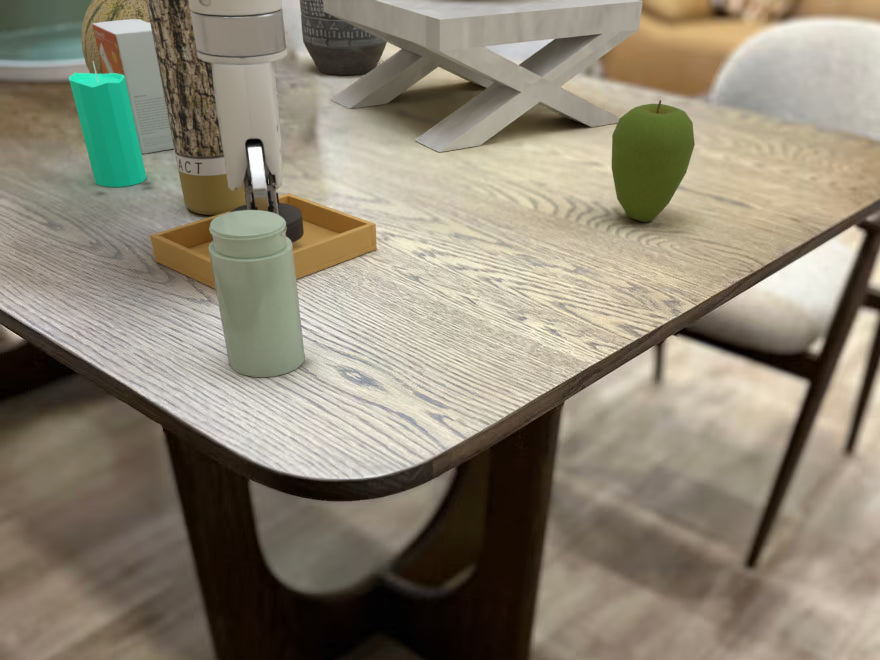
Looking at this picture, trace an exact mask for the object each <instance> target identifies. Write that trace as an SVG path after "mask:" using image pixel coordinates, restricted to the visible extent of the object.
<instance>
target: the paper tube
mask: <svg viewBox="0 0 880 660" xmlns="http://www.w3.org/2000/svg"><path fill="white" fill-rule="evenodd" d="M146 3H147V8H148V13H149V19H150V24H151V29H152V34H153V40H154V45H155V50H156V56H157V61H158V66H159V71H160V77H161V82H162V87H163V93H164V98H165V103H166V109H167V114H168V119H169V124H170V130H171V135H172V140H173V146H174V149H173V150H174V155H175V161H176V166H177V170H178V177H179V181H180V186H181V191H182V198H183V202H184V204H185V206H186V207H187V209H188V210H190V211H191V212H193V213H195V214H198V215H205V216H215V215H218V214H222V213H225V212H228V211H232V210H233V209H235V208H238V207H240V206H244V205H246V198H245V191H244V188H245V187H244V182H243V186H242V188H236V192H233V191H232V190H230V189H229V187H228V181H227V174H226V167H225V160H224V154H223V147H222V141H221V134H220V128H219V122H218V115H217V108H216V101H215V94H214V85H213V75H212V63H210V62H205V61H202V60H201V59H199V58H198V56H197V49H196V43H195V37H194V31H193V25H192V19H191V13H190V8H189V2H188V0H146Z"/></svg>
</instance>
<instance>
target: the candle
mask: <svg viewBox="0 0 880 660" xmlns="http://www.w3.org/2000/svg"><path fill="white" fill-rule="evenodd" d="M92 62H93V66H94V70H95V74H94V73H90V72H74V73H72V74H71V75H70V76H69V77H68V82H69V84H70V88H71V92H72V96H73V101H74V104H75V108H76V112H77V116H78V120H79V123H80V128H81V132H82V135H83V139H84V140H83V141H84V143H85V147H86V151H87V155H88V159H89V162H90V163H89V164H90V167H91V172H92V175H93V178H94V182H95V184H96V185H99V186H102V187H107V188H109V187H110V188H121V187H122V188H123V187H132V186H135V185H139V184H141V183H143V182H144V181H145V180H147V178H148V177H147V172H146V168H145V163H144V159H143V154H141V149H140V145H139V140H138V135H137V131H136V126H135V121H134V117H133V112H132V108H131V103H130V98H129V94H128V89H127V84H126V80H125V76H124V75H122V74H117V73H109V74H97V73H96V69H95V64H94V61H92Z"/></svg>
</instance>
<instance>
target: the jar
mask: <svg viewBox="0 0 880 660" xmlns="http://www.w3.org/2000/svg"><path fill="white" fill-rule="evenodd" d="M286 230H287V227H286V222H285V220H284V218H282V217H281V216H280V215H278V214H276V213H272V212H268V211H261V210H242V211H234V212H229V213H226V214H223V215H220V216H218V217H216V218H214V219H213V220H212V221H211V224H210V228H209V231H210V234H212V238H213V241H212V242H211V243H210V245H209V254H210V259H211V265H212V271H213V276H214V282H215V287H216V289H215V292H216V299H217V303H218V310H219V314H220V319H221V320H220V321H221V326H222V331H223V338H224V343H225V349H226V354H227V355H226V356H227V361H228V365H229V367H230V368H231V369H232V371H234V372H236V373H238V374H240V375H243V376H247V377H252V378H273V377H278V376H283V375H286V374H288V373H291V372H293V371H295V370H297V369H299V368H300V367H301V366H302V365H303V363H304V362H305V358H306V355H305V346H304V338H303V329H302V319H301V311H300V301H299V293H298V283H297V279H296V273H295V264H294V255H293V246H292V242H291V240H290V239H289V238H288V237H286Z"/></svg>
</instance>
